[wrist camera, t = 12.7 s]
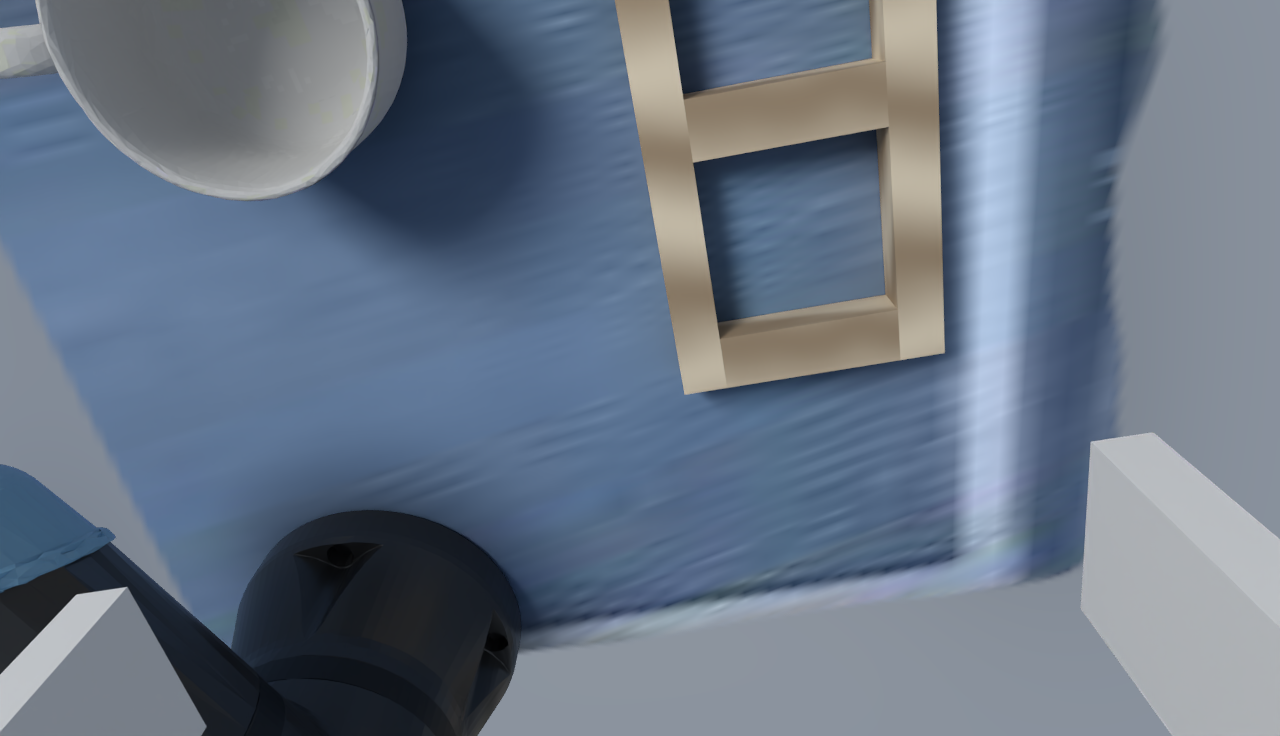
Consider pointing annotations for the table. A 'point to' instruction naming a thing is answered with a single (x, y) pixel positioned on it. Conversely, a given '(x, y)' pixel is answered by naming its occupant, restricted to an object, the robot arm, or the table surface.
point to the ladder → (779, 116)
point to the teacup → (222, 83)
